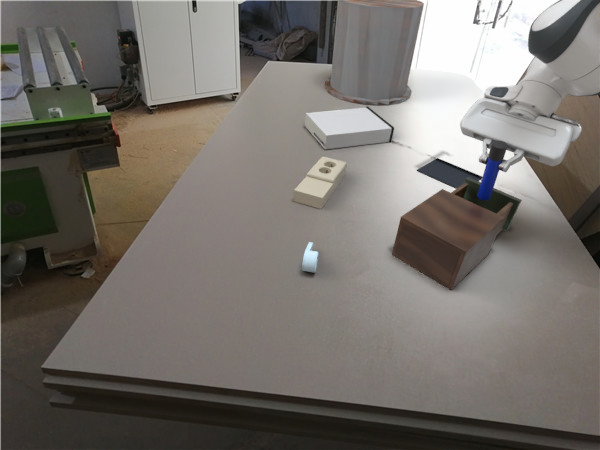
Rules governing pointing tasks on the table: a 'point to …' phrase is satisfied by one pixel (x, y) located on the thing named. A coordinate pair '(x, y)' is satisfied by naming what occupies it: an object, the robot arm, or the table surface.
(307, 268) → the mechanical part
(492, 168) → the marker
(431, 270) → the cabinet
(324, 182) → the electrical outlet
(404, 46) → the storage basket
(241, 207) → the table surface
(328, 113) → the disc drive
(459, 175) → the mat
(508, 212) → the drawer
